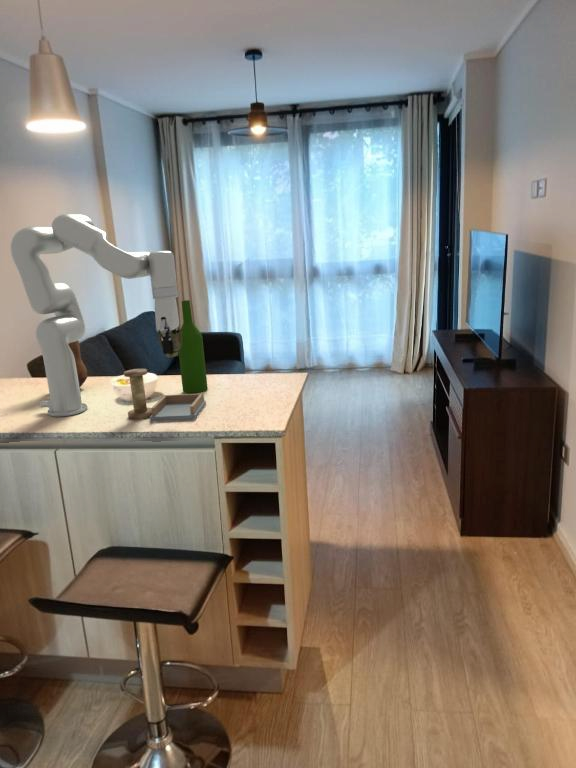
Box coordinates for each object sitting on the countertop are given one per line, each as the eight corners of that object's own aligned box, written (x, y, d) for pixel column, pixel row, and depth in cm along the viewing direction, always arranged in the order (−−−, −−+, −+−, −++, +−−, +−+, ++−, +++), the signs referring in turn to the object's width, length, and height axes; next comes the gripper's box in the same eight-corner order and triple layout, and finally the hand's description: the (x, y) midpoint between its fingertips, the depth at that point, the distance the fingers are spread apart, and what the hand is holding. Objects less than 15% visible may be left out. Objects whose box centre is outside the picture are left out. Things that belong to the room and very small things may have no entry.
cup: (185, 357, 180) (182, 331, 178) (160, 360, 179) (157, 333, 177) (183, 352, 187) (180, 327, 185) (159, 355, 186) (156, 330, 184)
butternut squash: (62, 387, 236) (51, 324, 230) (94, 385, 235) (85, 322, 229) (46, 396, 222) (34, 330, 216) (80, 394, 221) (70, 328, 215)
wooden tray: (150, 421, 180) (148, 409, 180) (164, 407, 196) (163, 395, 195) (195, 419, 179) (194, 407, 178) (206, 405, 195) (204, 393, 194)
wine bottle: (202, 386, 221) (192, 298, 213) (211, 390, 213) (202, 299, 205) (179, 390, 216) (169, 301, 209) (188, 395, 209) (178, 302, 201)
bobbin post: (124, 420, 184) (118, 374, 181) (133, 412, 192) (127, 369, 188) (149, 419, 183) (144, 373, 180) (157, 411, 191) (151, 367, 188)
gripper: (160, 291, 187) (167, 346, 192) (144, 296, 170) (151, 357, 175) (184, 289, 187) (190, 345, 191) (169, 295, 170) (176, 356, 174)
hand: (171, 350), depth 183 cm, fingers closed on cup, 6 cm apart
